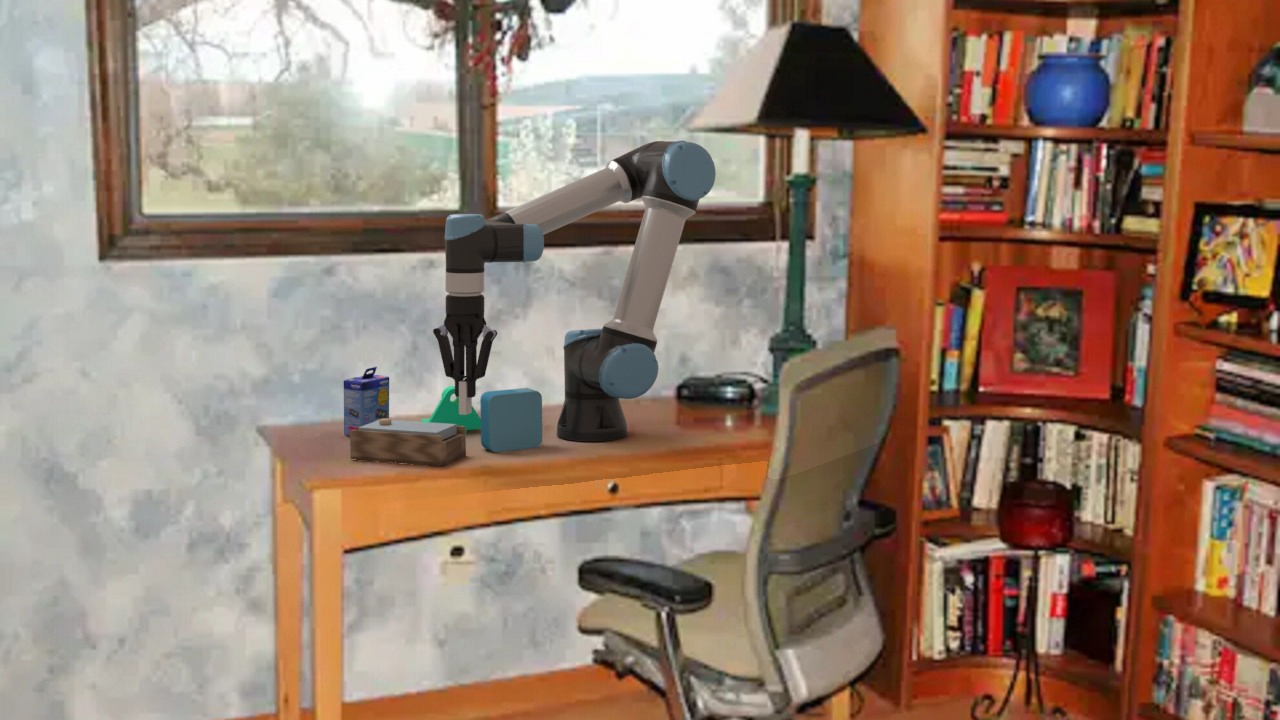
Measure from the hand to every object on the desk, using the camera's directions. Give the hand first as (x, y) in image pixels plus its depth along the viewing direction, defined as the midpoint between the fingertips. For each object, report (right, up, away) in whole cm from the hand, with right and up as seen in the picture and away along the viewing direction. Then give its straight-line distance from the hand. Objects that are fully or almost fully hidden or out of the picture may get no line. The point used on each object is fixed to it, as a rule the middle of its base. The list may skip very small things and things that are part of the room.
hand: (465, 413), depth 302 cm
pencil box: (-12, -9, +6) cm, 16 cm away
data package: (+8, -8, +15) cm, 19 cm away
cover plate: (-12, -5, +5) cm, 14 cm away
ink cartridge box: (-25, -6, +31) cm, 40 cm away
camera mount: (-7, -5, +33) cm, 34 cm away
